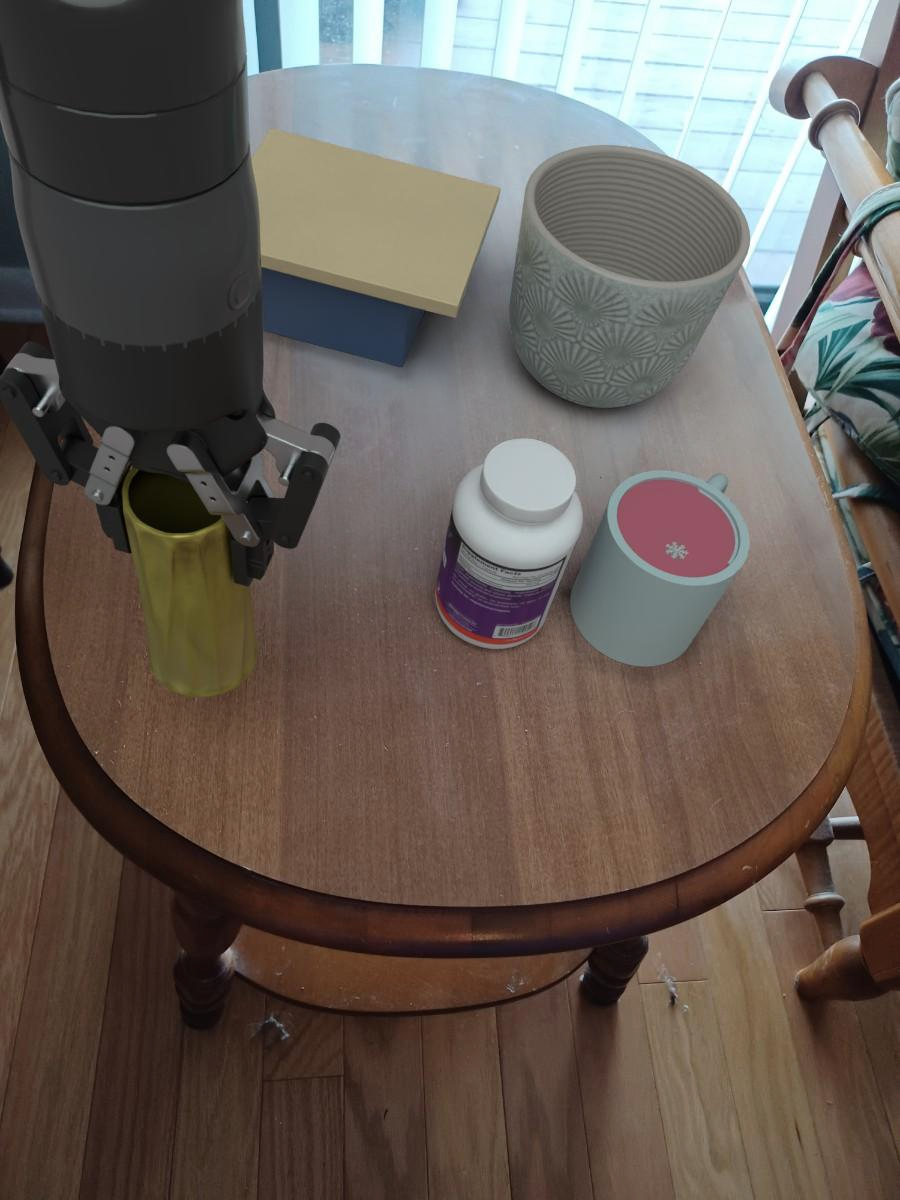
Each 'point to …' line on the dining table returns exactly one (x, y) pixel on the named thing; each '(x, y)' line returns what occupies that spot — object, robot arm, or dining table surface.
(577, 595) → the mug
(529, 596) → the pill bottle
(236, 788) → the dining table surface
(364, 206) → the box
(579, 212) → the planter
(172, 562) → the vase
